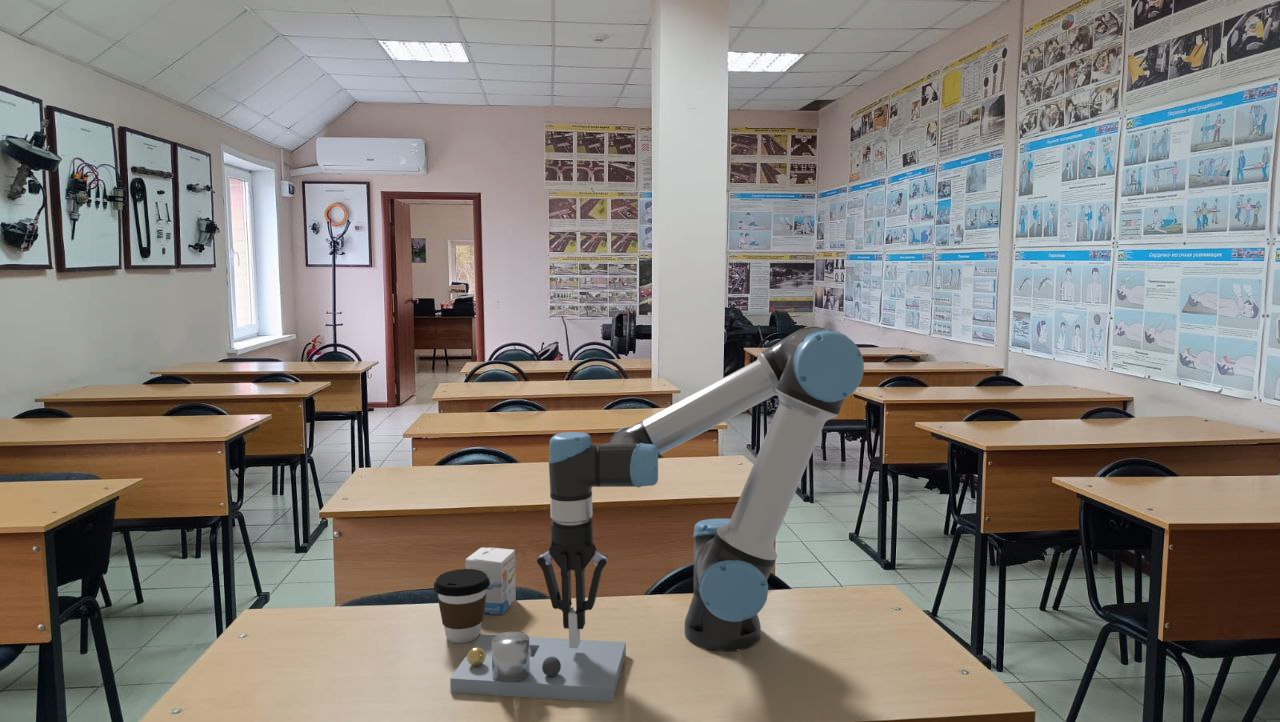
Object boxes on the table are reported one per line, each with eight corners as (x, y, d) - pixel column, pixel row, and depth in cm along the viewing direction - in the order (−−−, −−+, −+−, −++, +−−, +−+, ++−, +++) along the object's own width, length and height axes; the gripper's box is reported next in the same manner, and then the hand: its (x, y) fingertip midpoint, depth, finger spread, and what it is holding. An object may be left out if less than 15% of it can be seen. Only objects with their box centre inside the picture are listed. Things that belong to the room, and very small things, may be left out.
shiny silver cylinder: (533, 665, 138) (533, 632, 137) (524, 683, 132) (523, 649, 131) (498, 663, 139) (497, 630, 138) (487, 681, 132) (486, 647, 132)
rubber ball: (562, 671, 136) (562, 653, 136) (558, 680, 133) (558, 662, 133) (544, 670, 137) (544, 652, 136) (540, 679, 134) (540, 661, 133)
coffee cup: (472, 652, 149) (471, 591, 148) (423, 644, 152) (421, 584, 151) (501, 628, 159) (500, 571, 158) (454, 621, 163) (452, 565, 161)
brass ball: (488, 661, 140) (487, 644, 140) (482, 670, 137) (482, 652, 137) (470, 660, 140) (470, 643, 140) (464, 669, 137) (464, 651, 137)
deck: (625, 654, 148) (625, 642, 148) (612, 702, 131) (612, 688, 131) (481, 646, 151) (481, 634, 151) (450, 692, 134) (450, 678, 134)
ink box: (502, 615, 165) (501, 562, 164) (464, 612, 167) (463, 559, 166) (517, 599, 174) (516, 548, 172) (481, 596, 175) (480, 545, 174)
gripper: (610, 513, 144) (613, 637, 146) (541, 512, 145) (544, 634, 148) (604, 526, 136) (606, 656, 139) (531, 524, 138) (534, 653, 140)
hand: (574, 644), depth 143 cm, fingers closed
